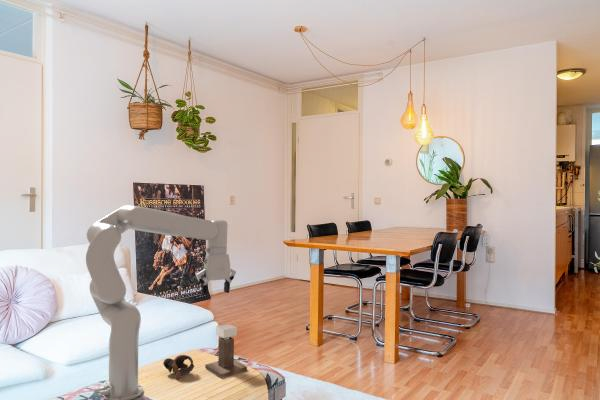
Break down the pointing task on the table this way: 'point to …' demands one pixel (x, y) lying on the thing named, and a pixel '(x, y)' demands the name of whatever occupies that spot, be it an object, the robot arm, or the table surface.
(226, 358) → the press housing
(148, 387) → the table surface
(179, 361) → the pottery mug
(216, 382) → the table surface
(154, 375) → the table surface
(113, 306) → the robot arm
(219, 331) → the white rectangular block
